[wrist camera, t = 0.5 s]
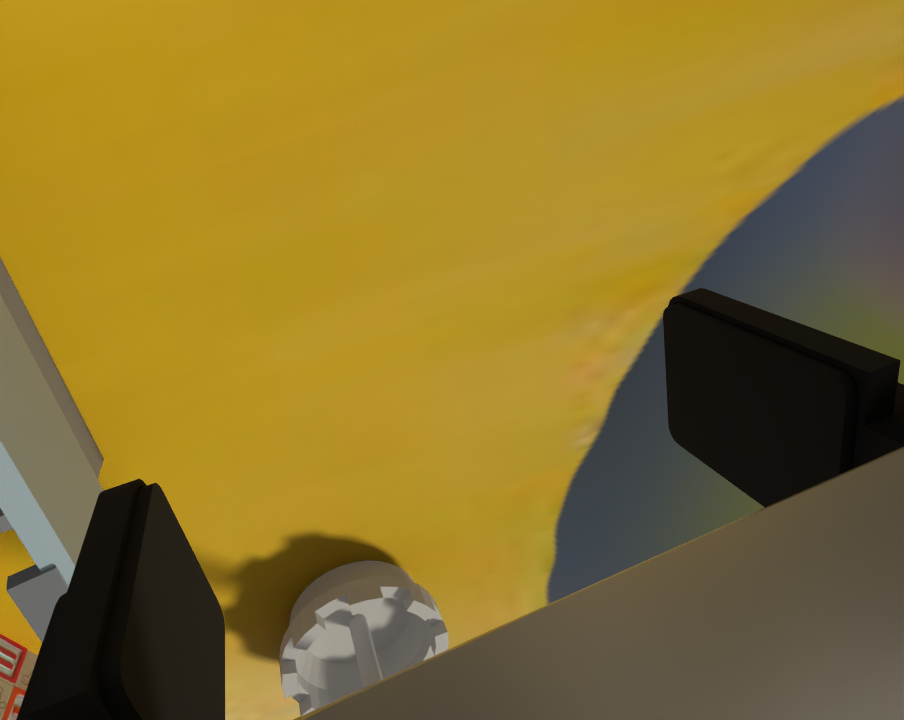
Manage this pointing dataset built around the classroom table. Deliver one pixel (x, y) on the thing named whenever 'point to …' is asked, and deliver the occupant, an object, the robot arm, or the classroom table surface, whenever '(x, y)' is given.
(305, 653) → the flag stand
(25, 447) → the grey flat panel
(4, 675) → the stack of blocks
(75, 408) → the grey open box
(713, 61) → the classroom table surface
